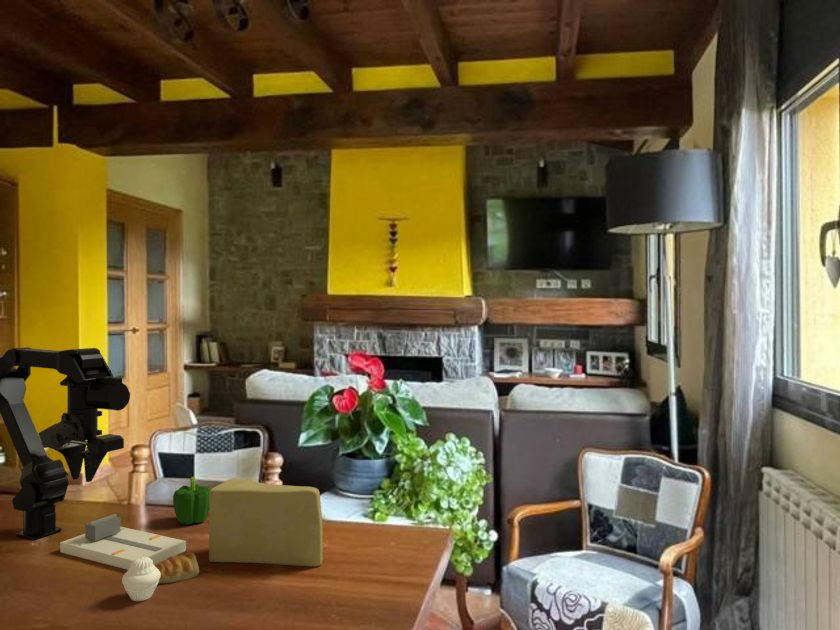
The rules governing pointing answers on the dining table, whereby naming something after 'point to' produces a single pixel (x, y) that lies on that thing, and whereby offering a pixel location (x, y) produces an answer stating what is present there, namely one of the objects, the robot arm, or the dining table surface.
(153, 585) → the muffin
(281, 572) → the dining table surface
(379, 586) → the dining table surface
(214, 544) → the cheese
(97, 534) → the fader cap
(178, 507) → the bell pepper
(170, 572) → the pastry
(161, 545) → the dimmer console
